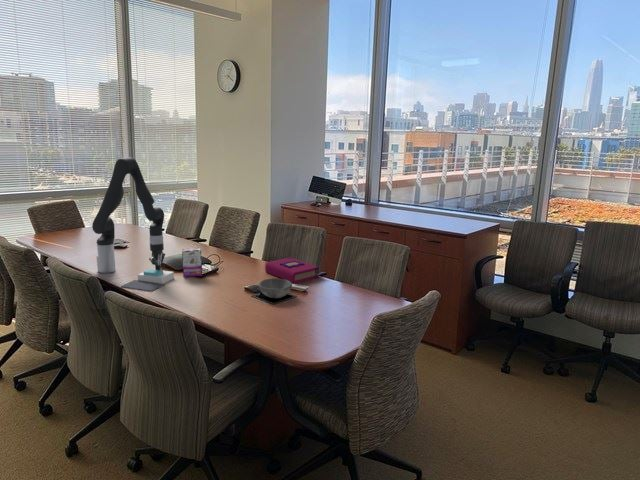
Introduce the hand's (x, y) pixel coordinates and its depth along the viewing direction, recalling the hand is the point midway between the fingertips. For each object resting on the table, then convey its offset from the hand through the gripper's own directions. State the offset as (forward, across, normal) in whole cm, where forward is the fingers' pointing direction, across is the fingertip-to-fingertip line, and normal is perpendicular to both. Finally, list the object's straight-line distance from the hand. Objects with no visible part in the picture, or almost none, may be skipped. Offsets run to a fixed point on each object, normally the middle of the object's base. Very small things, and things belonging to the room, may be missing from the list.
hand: (158, 270), depth 280 cm
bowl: (+5, +3, +75) cm, 75 cm away
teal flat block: (+1, +4, 0) cm, 4 cm away
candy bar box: (+5, -13, +15) cm, 20 cm away
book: (+6, -36, +71) cm, 80 cm away
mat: (+5, +14, 0) cm, 15 cm away
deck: (+5, +2, 0) cm, 5 cm away
